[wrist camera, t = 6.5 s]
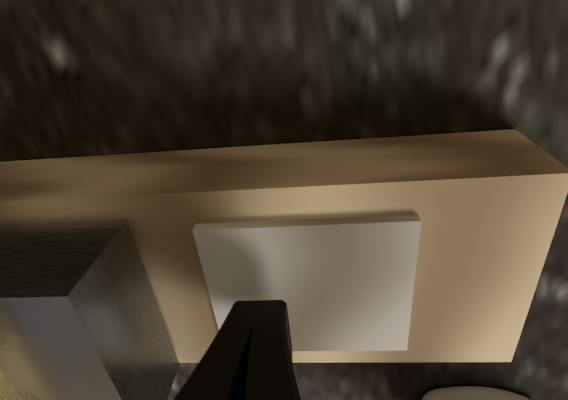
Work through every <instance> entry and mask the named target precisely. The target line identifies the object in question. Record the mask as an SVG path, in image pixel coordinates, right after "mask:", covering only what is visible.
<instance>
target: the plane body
mask: <svg viewBox="0 0 568 400" xmlns="http://www.w3.org/2000/svg"><path fill="white" fill-rule="evenodd" d="M567 193H568V168H567V167H565V166H564V165H563V164H561V163H560V162H559V161H557V160H556V159H555V158H553V157H552V156H551V155H549V154H548V153H547V152H545V151H544V150H543V149H541V148H540V147H538V146H537V145H536V144H534V143H533V142H532V141H530V140H529V139H528V138H526V137H525V136H524V135H522V134H521V133H520V132H518V131H517V130H516V129H510V130H495V131H479V132H463V133H447V134H431V135H416V136H400V137H384V138H368V139H352V140H337V141H321V142H305V143H289V144H273V145H258V146H242V147H226V148H210V149H194V150H179V151H163V152H147V153H131V154H115V155H100V156H84V157H68V158H52V159H36V160H21V161H5V162H0V225H14V224H36V223H59V222H82V221H104V220H127V222H128V225H129V227H130V230H131V233H132V236H133V238H134V241H135V244H136V246H137V249H138V252H139V255H140V257H141V260H142V263H143V266H144V268H145V271H146V274H147V277H148V279H149V282H150V285H151V287H152V290H153V293H154V296H155V298H156V301H157V304H158V307H159V309H160V312H161V315H162V317H163V320H164V323H165V326H166V328H167V331H168V334H169V337H170V339H171V342H172V345H173V348H174V350H175V353H176V356H177V358H178V361H179V363H199V362H200V360H201V359H202V357H203V355H204V354H205V352H206V351H207V349H208V348H209V346H210V344H211V343H212V341H213V339H214V338H215V336H216V334H217V333H218V331H219V329H220V328H221V326H222V324H223V322H224V321H225V319H226V317H227V315H228V313H229V311H230V310H231V308H232V306H233V304H234V303H235V302H236V301H250V300H283V301H284V302H286V303H287V310H288V318H289V326H290V334H291V341H292V361H293V363H330V362H512V359H513V356H514V353H515V349H516V346H517V343H518V340H519V337H520V334H521V331H522V328H523V325H524V322H525V319H526V316H527V313H528V310H529V307H530V304H531V301H532V298H533V295H534V292H535V289H536V286H537V283H538V280H539V277H540V274H541V271H542V268H543V265H544V262H545V259H546V256H547V253H548V250H549V247H550V244H551V241H552V238H553V235H554V232H555V229H556V226H557V223H558V220H559V217H560V214H561V211H562V208H563V205H564V202H565V199H566V196H567Z"/></svg>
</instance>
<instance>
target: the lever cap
mask: <svg viewBox="0 0 568 400" xmlns="http://www.w3.org/2000/svg"><path fill="white" fill-rule="evenodd" d="M178 367H179V361H178V358H177V356H176V353H175V350H174V348H173V345H172V342H171V339H170V337H169V334H168V331H167V328H166V326H165V323H164V320H163V317H162V315H161V312H160V309H159V307H158V304H157V301H156V298H155V296H154V293H153V290H152V287H151V285H150V282H149V279H148V277H147V274H146V271H145V268H144V266H143V263H142V260H141V257H140V255H139V252H138V249H137V246H136V244H135V241H134V238H133V236H132V233H131V230H130V227H129V225H128V222H127V220H104V221H82V222H59V223H36V224H14V225H0V400H167V398H168V396H169V393H170V390H171V387H172V384H173V381H174V378H175V375H176V372H177V369H178Z"/></svg>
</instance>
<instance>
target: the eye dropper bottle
mask: <svg viewBox="0 0 568 400" xmlns="http://www.w3.org/2000/svg"><path fill="white" fill-rule="evenodd" d="M422 400H530V399H528V398H526V397H524V396H522V395H519V394H516V393H513V392H509V391H506V390H502V389H497V388H490V387H481V386H456V387H445V388H438V389H434V390H431V391H429V392H427V393H426V394H425V395H424V397H423V399H422Z"/></svg>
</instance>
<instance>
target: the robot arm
mask: <svg viewBox="0 0 568 400" xmlns="http://www.w3.org/2000/svg"><path fill="white" fill-rule="evenodd" d="M174 400H301V398H300V395H299V391H298V387H297V383H296V379H295V375H294V370H293V361H292V341H291V334H290V326H289V318H288V310H287V303H286V302H284V301H283V300H250V301H236V302H235V303H234V304H233V306H232V308H231V310H230V311H229V313H228V315H227V317H226V319H225V321H224V322H223V324H222V326H221V328H220V329H219V331H218V333H217V334H216V336H215V338H214V339H213V341H212V343H211V344H210V346H209V348H208V349H207V351H206V352H205V354H204V355H203V357H202V359H201V360H200V362H199V363H198V365H197V366H196V368H195V369H194V371H193V373H192V374H191V376H190V377H189V378H188V380H187V381H186V383H185V384H184V386H183V387H182V388H181V390H180V391H179V393H178V394H177V395H176V397H175V398H174Z"/></svg>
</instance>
